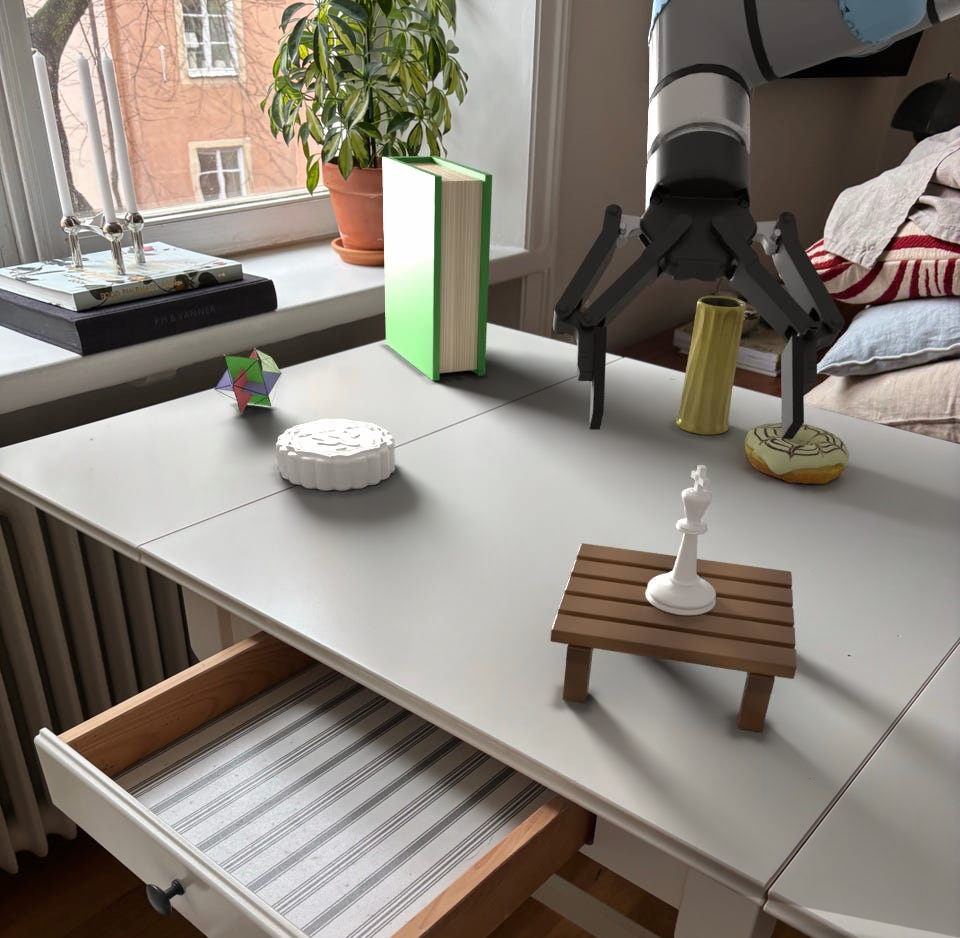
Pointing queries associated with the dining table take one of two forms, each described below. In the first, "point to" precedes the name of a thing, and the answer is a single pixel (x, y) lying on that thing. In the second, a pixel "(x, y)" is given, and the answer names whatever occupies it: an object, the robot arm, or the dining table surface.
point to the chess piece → (686, 559)
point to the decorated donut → (796, 453)
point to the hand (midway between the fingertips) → (694, 426)
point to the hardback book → (436, 262)
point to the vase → (711, 365)
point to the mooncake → (335, 454)
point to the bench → (678, 622)
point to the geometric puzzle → (249, 379)
